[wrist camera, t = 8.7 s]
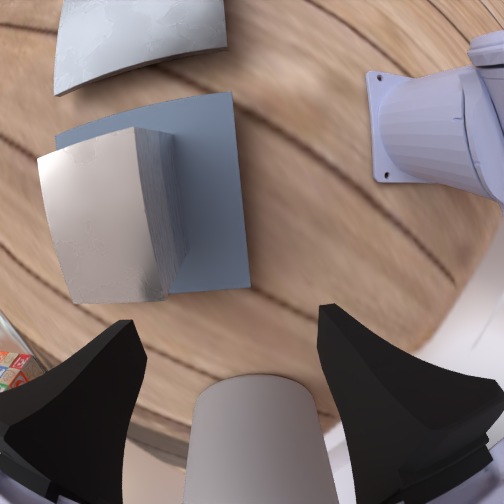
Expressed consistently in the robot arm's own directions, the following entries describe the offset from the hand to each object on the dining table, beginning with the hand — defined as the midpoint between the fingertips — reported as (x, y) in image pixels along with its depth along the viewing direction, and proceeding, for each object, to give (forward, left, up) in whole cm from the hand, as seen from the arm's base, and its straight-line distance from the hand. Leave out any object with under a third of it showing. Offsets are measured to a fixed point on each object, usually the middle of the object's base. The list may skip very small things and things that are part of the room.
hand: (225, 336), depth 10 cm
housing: (+5, -4, -7) cm, 10 cm away
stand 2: (+5, -4, -9) cm, 11 cm away
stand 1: (+5, -19, -9) cm, 22 cm away
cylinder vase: (0, +18, -10) cm, 20 cm away
